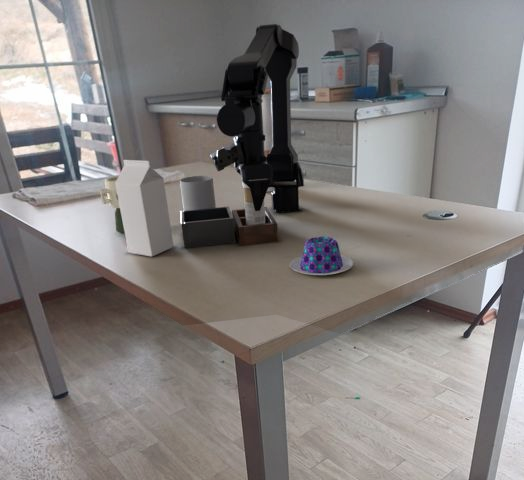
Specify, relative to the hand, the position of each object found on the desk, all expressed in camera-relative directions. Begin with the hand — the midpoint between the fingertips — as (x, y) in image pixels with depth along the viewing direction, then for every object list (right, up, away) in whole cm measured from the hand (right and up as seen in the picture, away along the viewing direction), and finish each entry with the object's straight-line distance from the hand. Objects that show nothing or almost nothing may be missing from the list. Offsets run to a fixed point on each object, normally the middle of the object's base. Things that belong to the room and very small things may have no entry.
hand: (254, 205), depth 115 cm
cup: (-15, +3, +22) cm, 27 cm away
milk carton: (-23, -10, 0) cm, 25 cm away
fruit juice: (+4, +19, +49) cm, 52 cm away
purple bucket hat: (+13, -16, -16) cm, 26 cm away
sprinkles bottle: (0, -7, +4) cm, 7 cm away
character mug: (-31, -3, +14) cm, 34 cm away
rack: (0, -5, +7) cm, 8 cm away
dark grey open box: (-11, -6, +6) cm, 13 cm away
